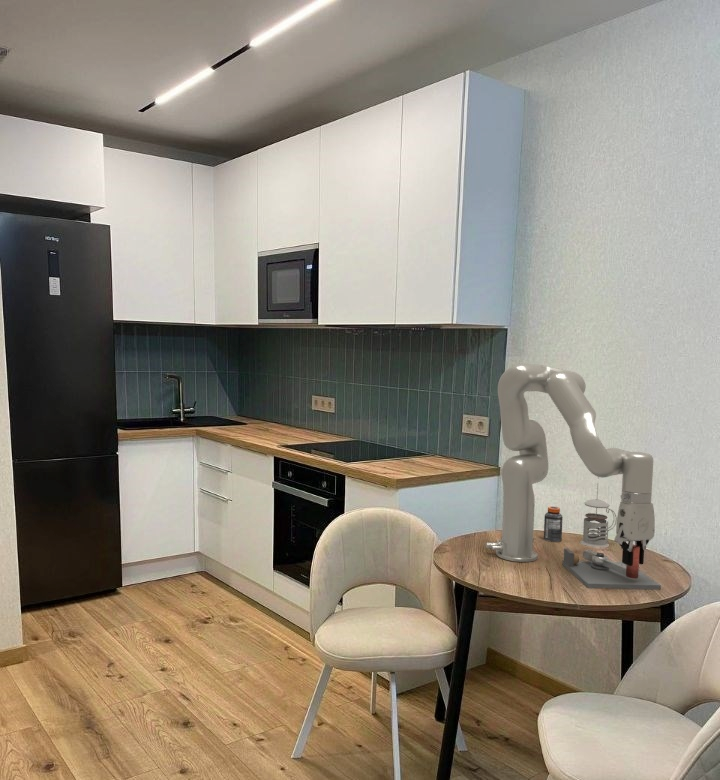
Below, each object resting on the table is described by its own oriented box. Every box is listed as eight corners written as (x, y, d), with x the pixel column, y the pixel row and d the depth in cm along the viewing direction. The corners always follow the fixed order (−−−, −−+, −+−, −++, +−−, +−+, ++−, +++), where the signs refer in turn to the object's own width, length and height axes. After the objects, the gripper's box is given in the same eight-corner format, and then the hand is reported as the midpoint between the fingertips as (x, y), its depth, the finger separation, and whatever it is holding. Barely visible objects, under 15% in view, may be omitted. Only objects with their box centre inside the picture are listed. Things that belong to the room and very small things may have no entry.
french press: (575, 539, 220) (578, 468, 219) (607, 540, 221) (611, 469, 219) (586, 548, 210) (589, 473, 209) (620, 548, 211) (624, 474, 210)
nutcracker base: (587, 587, 172) (588, 568, 172) (562, 564, 192) (563, 547, 192) (660, 589, 172) (661, 570, 172) (627, 565, 192) (628, 548, 192)
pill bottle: (549, 536, 223) (550, 504, 223) (564, 540, 219) (566, 507, 218) (540, 539, 219) (541, 506, 219) (556, 543, 215) (557, 510, 214)
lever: (630, 579, 173) (632, 548, 172) (580, 558, 190) (581, 530, 190) (642, 578, 174) (644, 546, 174) (591, 557, 192) (593, 529, 192)
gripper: (625, 502, 167) (621, 571, 168) (669, 498, 174) (665, 564, 175) (603, 496, 174) (599, 562, 175) (646, 493, 181) (643, 556, 182)
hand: (632, 563), depth 175 cm, fingers closed on lever, 3 cm apart
